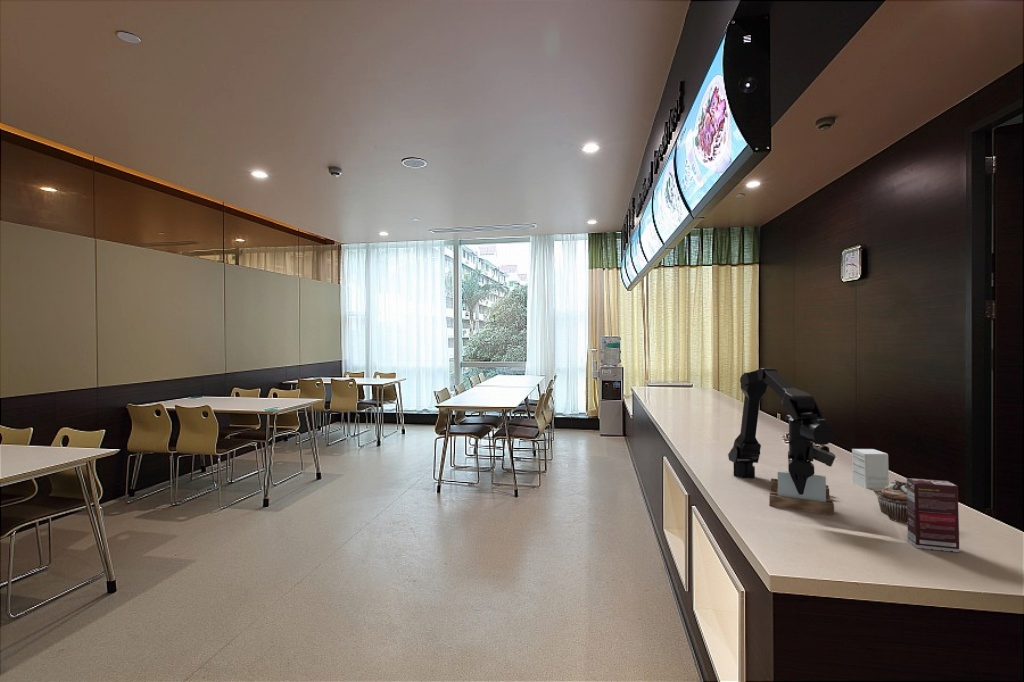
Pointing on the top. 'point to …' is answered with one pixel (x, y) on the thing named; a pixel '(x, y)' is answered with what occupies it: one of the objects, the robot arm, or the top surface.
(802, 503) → the rack
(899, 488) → the cupcake
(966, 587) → the top surface
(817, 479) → the panel
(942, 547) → the supplement box
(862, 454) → the supplement box
